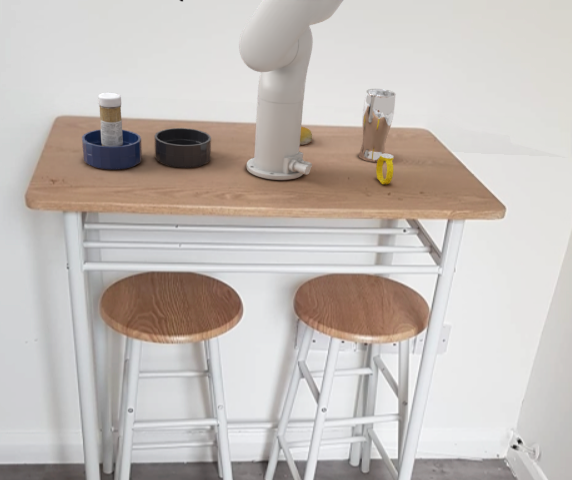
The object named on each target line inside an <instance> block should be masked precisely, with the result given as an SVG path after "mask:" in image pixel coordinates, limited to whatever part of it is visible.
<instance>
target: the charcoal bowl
mask: <svg viewBox="0 0 572 480" xmlns="http://www.w3.org/2000/svg"><path fill="white" fill-rule="evenodd" d="M153 140H154V157H155V160H156V161H158V162H159V163H161V164H163V165H165V166H168V167H171V168H180V169H181V168H182V169H190V168H199V167H201V166H205V165H206V164H208V163H209V162H210V161H211V159H212V137H211V135H210V134H209V133H207V132H205V131H202V130H199V129H194V128H185V127H173V128H166V129H162V130H159V131H157V132H155V134H154V139H153Z"/></svg>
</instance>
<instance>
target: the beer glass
mask: <svg viewBox="0 0 572 480" xmlns="http://www.w3.org/2000/svg"><path fill="white" fill-rule="evenodd" d="M396 95H397V93H396V92H394V91H393V90H389V89H384V88H370V89H367V90H366V93H365V97H364V102H363V108H362V144H361V147H360V150H359V153H358V157H359V158H360V159H361V160H363V161H366V162H370V163H377V161H378V159H379V157H380V156H381V154H386V142H387V138H388V136H389V133H390V129H391V126H392V123H393V120H394V114H395V107H396Z"/></svg>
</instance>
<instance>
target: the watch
mask: <svg viewBox="0 0 572 480" xmlns="http://www.w3.org/2000/svg"><path fill="white" fill-rule="evenodd" d="M394 158H395V157H394V155H393V154H391V153H385V154H381V156H380V157H379V159H378V161H377V162H376V168H375V169H376V170H375V173H376V180H378V181H379V182H380V184H381V185H389V184H391V182H392V180H393V178H394V162H393V160H394ZM384 162H385V165H386V175H385V177H384V173H383V172H384V171H383V170H384V169H383V168H384V167H383V165H384Z"/></svg>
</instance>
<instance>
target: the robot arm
mask: <svg viewBox="0 0 572 480" xmlns="http://www.w3.org/2000/svg"><path fill="white" fill-rule="evenodd" d="M179 1H180V2H184V0H179ZM343 2H344V0H260V3H259V4H258V5H257V7H256V9H255V10H254V11H253V13H252V14H251V16H249V19H247V21H246V23H245V24H244V26H243V29H242V30H241V33H240V36H239V42H238V49H239V55H240V58H241V60H242V61H243V63H244V65H246V67H248V68H249V69H250V70H252V71H254V72H257V73H258V72H259V78H258V85H257V98H256V99H257V101H256V115H255V117H256V118H255V137H254V155H253V157H252V158H250V159H248V161H246V169H247V171H248V172H249V173H250V174H251V175H253V176H256V177H259V178H261V179H266V180H274V181H287V180H288V181H289V180H294V179H297V178H300V177H302V176H303V175H309V174H310V172H311V169H312V167H313V163H312V162H310V161H306V160H304V152H301V151H300V147H301V145H300V135H301V126H302V124H303V113H304V111H303V110H304V100H305V91H306V82H307V81H306V80H307V75H308V71H309V65H310V61H311V56H312V51H313V43H314V39H313V32H312V29H311V26H313V25H316V24H320V23H323V22H325V21H327V20H329V19H330V18H332V16H333V15H334V14H335V13H336V11H337V10H338V8H339V7H340V6H341V5H342V3H343Z"/></svg>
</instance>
